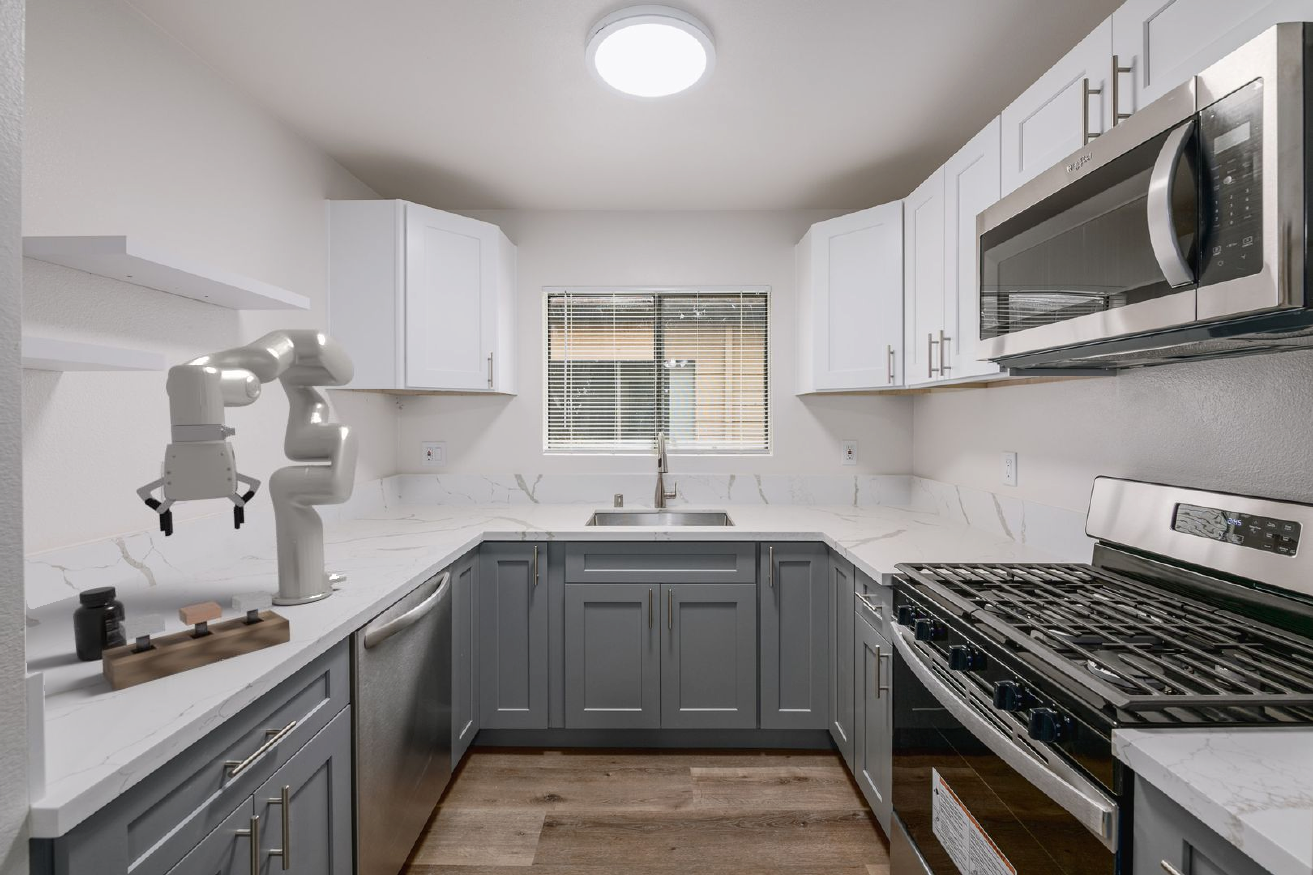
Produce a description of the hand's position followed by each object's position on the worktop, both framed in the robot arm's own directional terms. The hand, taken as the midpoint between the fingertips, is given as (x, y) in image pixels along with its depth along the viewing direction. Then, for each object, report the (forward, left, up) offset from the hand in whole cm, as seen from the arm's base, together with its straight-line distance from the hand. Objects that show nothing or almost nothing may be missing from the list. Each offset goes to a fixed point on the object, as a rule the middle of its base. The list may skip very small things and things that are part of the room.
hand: (204, 531), depth 103 cm
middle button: (+1, -3, -20) cm, 20 cm away
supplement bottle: (+12, -20, -23) cm, 33 cm away
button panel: (+1, -3, -23) cm, 23 cm away
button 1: (+9, -3, -20) cm, 22 cm away
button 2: (-7, -3, -20) cm, 22 cm away
